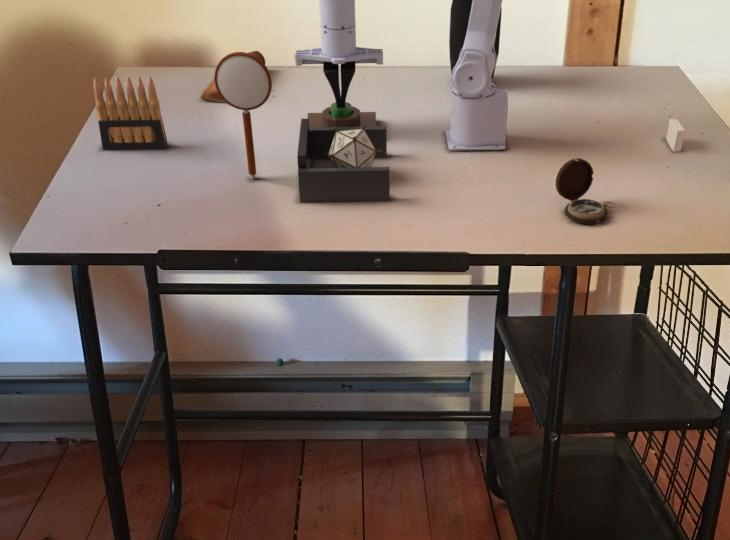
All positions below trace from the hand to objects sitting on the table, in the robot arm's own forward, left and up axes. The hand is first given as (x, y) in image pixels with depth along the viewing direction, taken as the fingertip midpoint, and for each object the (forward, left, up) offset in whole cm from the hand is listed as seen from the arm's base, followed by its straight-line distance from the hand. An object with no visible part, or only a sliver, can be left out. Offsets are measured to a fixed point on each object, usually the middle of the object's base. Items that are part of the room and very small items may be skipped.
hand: (341, 105), depth 160 cm
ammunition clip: (+35, +5, -5) cm, 36 cm away
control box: (0, 0, -5) cm, 5 cm away
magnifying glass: (+14, +18, -5) cm, 23 cm away
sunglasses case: (+21, -23, -5) cm, 32 cm away
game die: (-2, +18, -5) cm, 18 cm away
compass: (-37, +31, -5) cm, 49 cm away
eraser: (-56, +8, -5) cm, 57 cm away
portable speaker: (-25, -22, -5) cm, 34 cm away
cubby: (-1, +18, -5) cm, 19 cm away
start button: (0, 0, -2) cm, 2 cm away
